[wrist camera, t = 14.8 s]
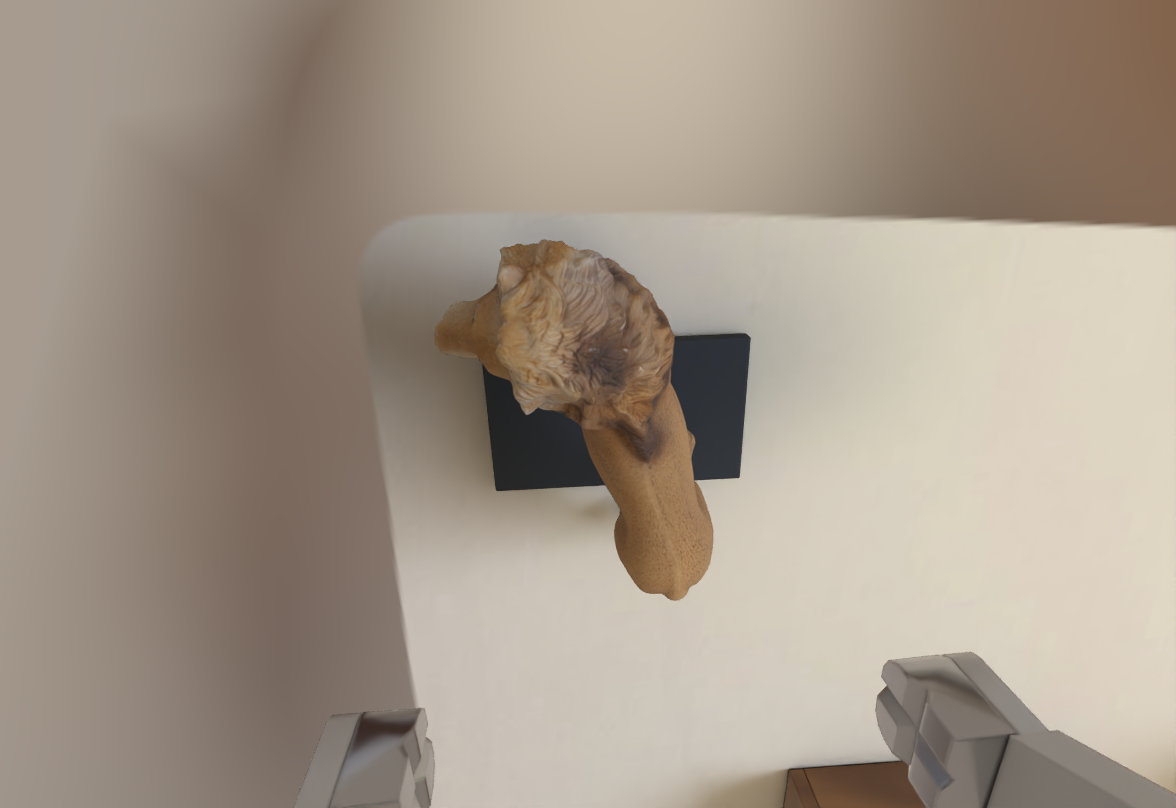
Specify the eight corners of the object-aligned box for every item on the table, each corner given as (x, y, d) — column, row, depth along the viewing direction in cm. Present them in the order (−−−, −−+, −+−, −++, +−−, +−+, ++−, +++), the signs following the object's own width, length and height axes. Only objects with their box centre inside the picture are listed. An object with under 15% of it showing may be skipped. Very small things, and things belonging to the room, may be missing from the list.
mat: (496, 484, 24) (495, 491, 23) (482, 344, 21) (480, 349, 21) (735, 471, 24) (740, 478, 24) (746, 333, 22) (751, 336, 21)
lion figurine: (454, 262, 20) (379, 330, 11) (590, 183, 19) (617, 193, 11) (642, 564, 25) (686, 762, 17) (755, 511, 24) (860, 691, 16)
